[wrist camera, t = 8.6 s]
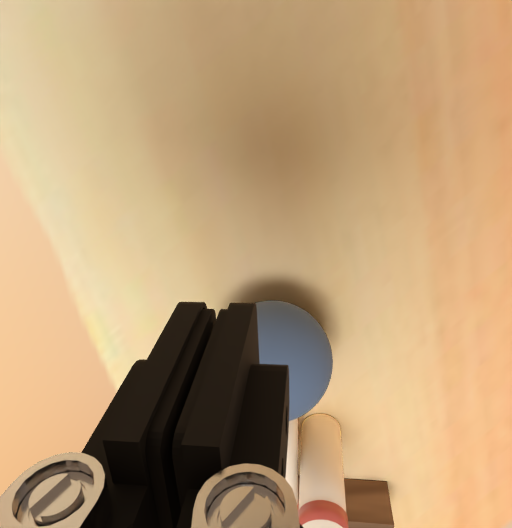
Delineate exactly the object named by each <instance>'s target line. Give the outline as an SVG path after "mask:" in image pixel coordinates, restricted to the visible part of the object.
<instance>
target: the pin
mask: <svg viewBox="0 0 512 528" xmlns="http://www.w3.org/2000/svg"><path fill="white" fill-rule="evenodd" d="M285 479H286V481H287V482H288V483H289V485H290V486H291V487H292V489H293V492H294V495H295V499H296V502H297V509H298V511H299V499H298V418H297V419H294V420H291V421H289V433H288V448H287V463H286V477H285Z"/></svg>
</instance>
